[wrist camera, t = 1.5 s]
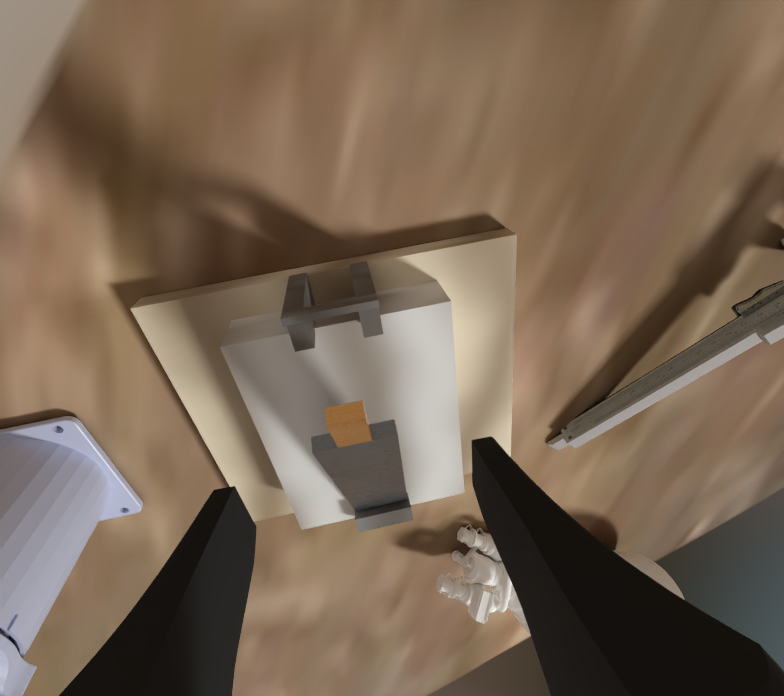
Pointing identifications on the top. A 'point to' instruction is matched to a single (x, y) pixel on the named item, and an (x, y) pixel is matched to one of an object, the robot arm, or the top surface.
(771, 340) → the caliper
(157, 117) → the top surface
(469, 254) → the base board
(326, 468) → the grey flat bar
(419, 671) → the top surface
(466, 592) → the rocket engine
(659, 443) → the top surface
